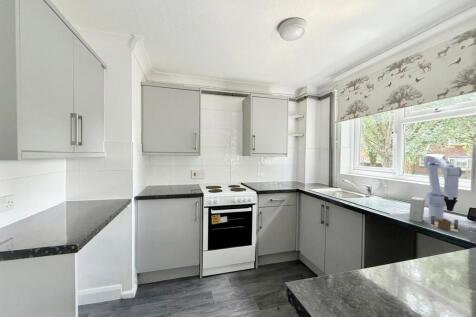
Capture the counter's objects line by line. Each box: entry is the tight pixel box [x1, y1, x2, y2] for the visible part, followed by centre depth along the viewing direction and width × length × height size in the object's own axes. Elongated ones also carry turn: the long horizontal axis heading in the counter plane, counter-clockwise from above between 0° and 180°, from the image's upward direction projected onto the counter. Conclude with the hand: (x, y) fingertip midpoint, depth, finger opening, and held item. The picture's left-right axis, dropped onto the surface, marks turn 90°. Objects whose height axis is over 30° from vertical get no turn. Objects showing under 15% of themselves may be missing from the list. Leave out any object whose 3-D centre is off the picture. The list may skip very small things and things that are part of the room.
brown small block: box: [437, 218, 452, 231], centre depth 116 cm, size 5×5×4 cm
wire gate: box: [430, 216, 459, 230], centre depth 120 cm, size 3×11×5 cm, turn 44°
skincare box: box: [408, 196, 426, 223], centre depth 131 cm, size 8×6×15 cm
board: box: [430, 220, 459, 233], centre depth 120 cm, size 15×11×1 cm
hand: (449, 209), depth 121 cm, fingers open, 7 cm apart
